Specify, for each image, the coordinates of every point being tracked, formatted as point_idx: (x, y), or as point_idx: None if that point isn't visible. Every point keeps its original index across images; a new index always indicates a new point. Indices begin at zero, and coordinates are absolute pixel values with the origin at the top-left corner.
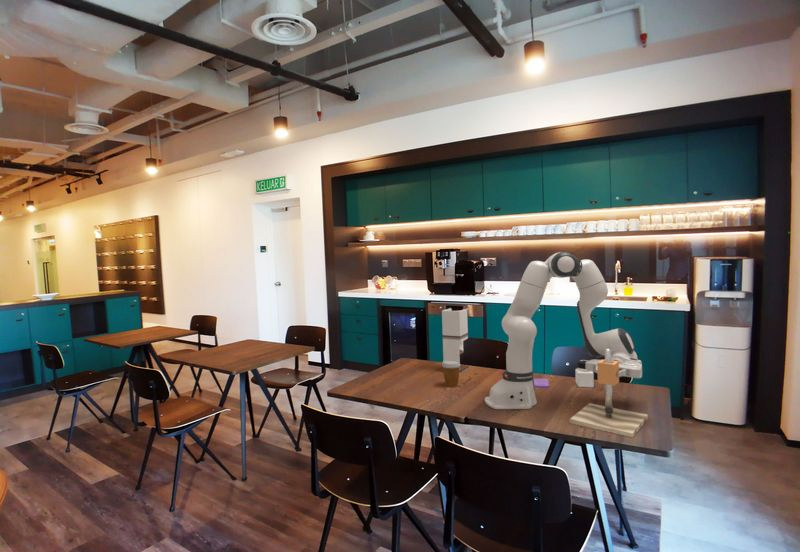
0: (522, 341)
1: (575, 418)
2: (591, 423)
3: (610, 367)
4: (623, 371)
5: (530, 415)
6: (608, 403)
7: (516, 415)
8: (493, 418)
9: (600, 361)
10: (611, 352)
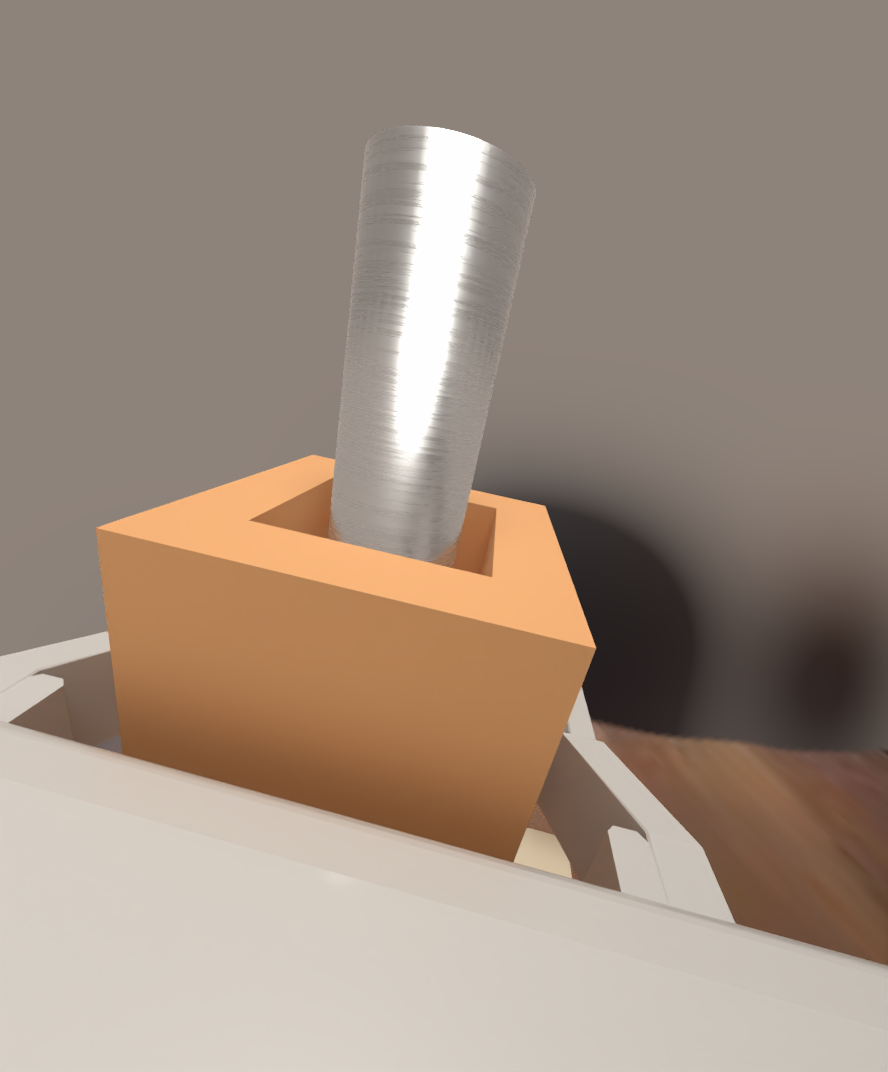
0: None
1: (544, 866)
2: None
3: None
4: (86, 648)
5: (797, 894)
6: None
7: (831, 857)
8: (828, 774)
9: (535, 533)
10: (355, 255)
